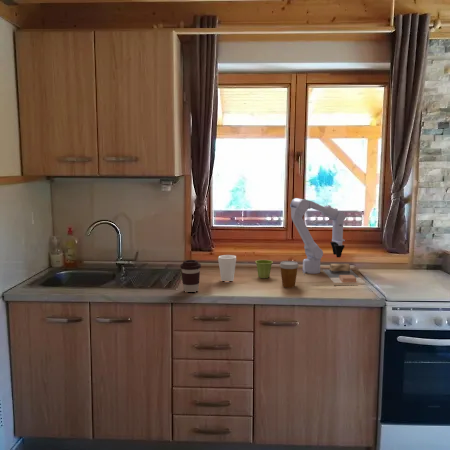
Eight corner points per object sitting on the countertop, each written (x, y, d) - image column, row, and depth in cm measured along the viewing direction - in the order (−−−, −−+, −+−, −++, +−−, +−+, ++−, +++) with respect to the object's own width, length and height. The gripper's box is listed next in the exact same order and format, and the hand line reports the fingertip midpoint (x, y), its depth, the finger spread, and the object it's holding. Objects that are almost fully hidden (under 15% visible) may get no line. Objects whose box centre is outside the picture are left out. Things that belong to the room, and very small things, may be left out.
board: (333, 285, 238) (334, 282, 238) (322, 272, 266) (322, 269, 266) (365, 285, 238) (365, 282, 238) (350, 271, 266) (350, 269, 266)
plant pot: (260, 274, 262) (261, 259, 261) (275, 276, 257) (275, 261, 256) (252, 277, 255) (252, 262, 254) (267, 280, 249) (267, 264, 248)
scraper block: (331, 273, 257) (331, 265, 256) (329, 271, 261) (329, 263, 260) (349, 273, 257) (349, 265, 256) (347, 271, 261) (348, 263, 260)
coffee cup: (182, 288, 235) (181, 259, 233) (201, 288, 235) (201, 259, 233) (179, 294, 225) (179, 263, 223) (200, 294, 225) (199, 263, 223)
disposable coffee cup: (287, 282, 245) (287, 260, 243) (302, 285, 238) (302, 262, 236) (275, 286, 238) (275, 263, 236) (290, 289, 231) (290, 266, 230)
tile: (342, 282, 239) (342, 278, 239) (339, 278, 246) (339, 275, 245) (356, 282, 239) (356, 278, 239) (352, 278, 246) (352, 274, 246)
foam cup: (215, 282, 246) (215, 257, 245) (222, 277, 255) (222, 254, 253) (232, 283, 243) (232, 259, 241) (238, 279, 251) (238, 255, 249)
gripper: (348, 234, 255) (347, 258, 257) (341, 229, 270) (340, 253, 272) (335, 234, 255) (334, 258, 257) (329, 230, 270) (328, 253, 272)
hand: (336, 255), depth 265 cm, fingers open, 7 cm apart
